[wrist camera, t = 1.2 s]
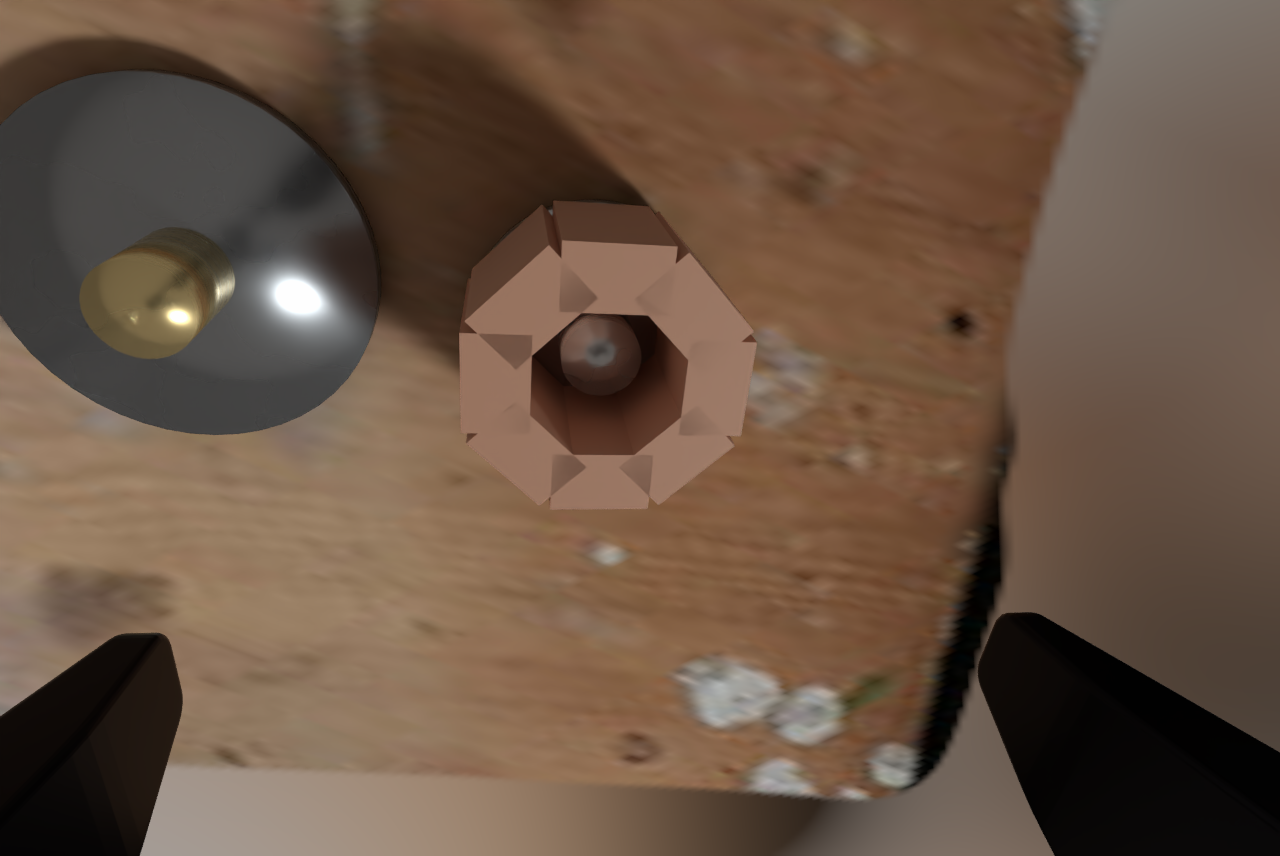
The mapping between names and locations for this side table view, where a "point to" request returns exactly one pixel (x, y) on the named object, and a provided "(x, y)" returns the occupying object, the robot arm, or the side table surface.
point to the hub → (182, 252)
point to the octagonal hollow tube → (611, 424)
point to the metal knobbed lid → (598, 346)
